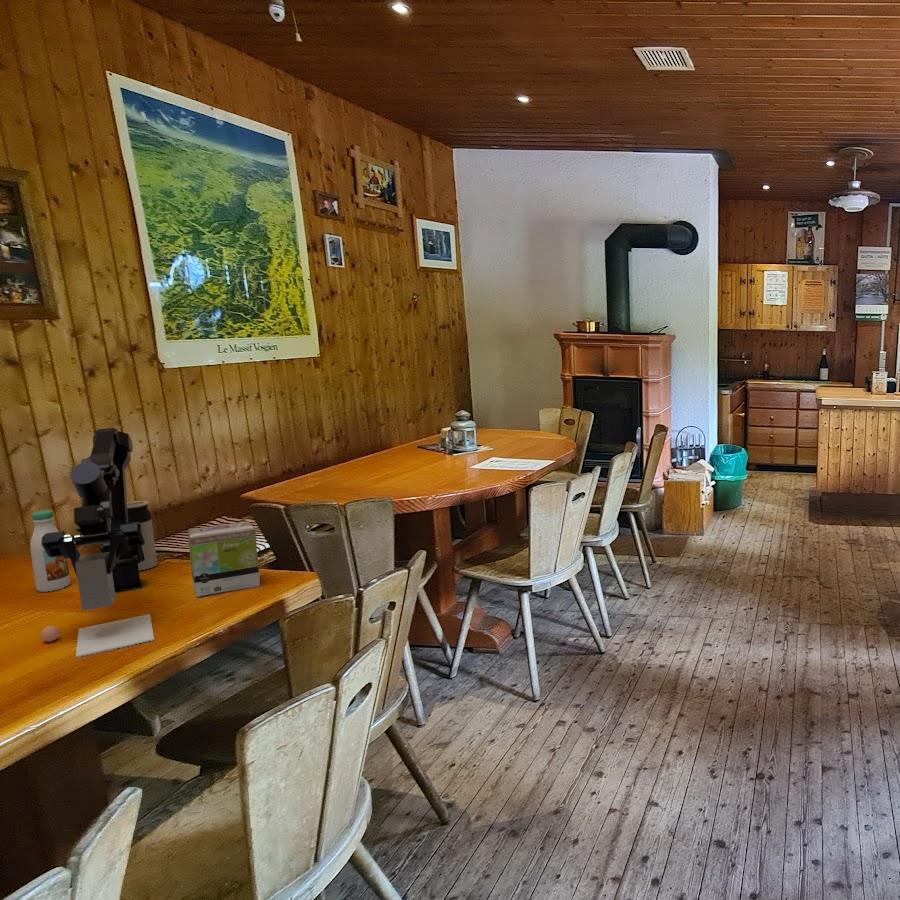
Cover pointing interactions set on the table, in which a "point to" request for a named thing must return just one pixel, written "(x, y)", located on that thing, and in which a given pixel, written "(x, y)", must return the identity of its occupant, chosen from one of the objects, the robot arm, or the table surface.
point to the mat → (114, 635)
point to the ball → (50, 633)
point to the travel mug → (143, 516)
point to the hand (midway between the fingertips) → (93, 575)
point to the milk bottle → (47, 569)
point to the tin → (95, 581)
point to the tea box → (223, 558)
